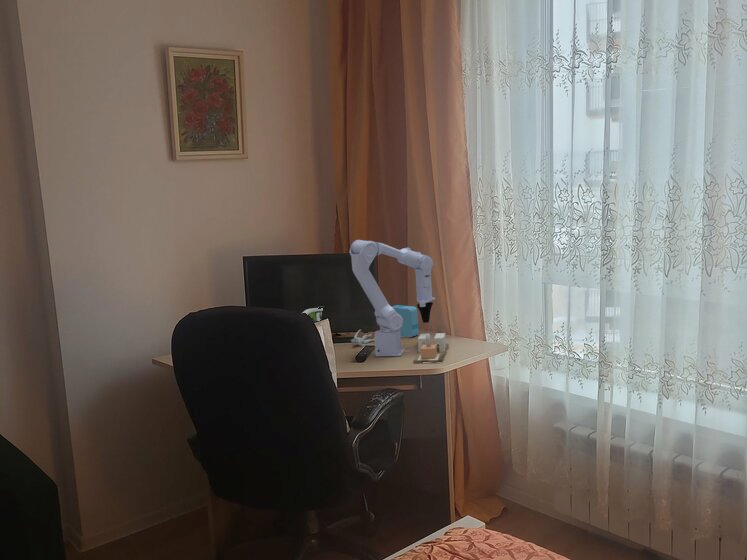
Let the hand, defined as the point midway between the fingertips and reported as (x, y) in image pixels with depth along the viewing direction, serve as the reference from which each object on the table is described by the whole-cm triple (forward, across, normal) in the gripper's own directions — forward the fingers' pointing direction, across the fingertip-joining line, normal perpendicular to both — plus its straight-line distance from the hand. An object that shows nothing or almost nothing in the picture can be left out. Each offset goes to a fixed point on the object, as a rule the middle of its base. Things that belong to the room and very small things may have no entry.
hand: (426, 322), depth 285 cm
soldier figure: (+10, +6, +26) cm, 29 cm away
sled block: (+8, -19, -3) cm, 21 cm away
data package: (+10, +20, +12) cm, 25 cm away
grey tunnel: (+9, -9, -3) cm, 13 cm away
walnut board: (+9, -12, -3) cm, 16 cm away
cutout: (+10, +18, +44) cm, 49 cm away
